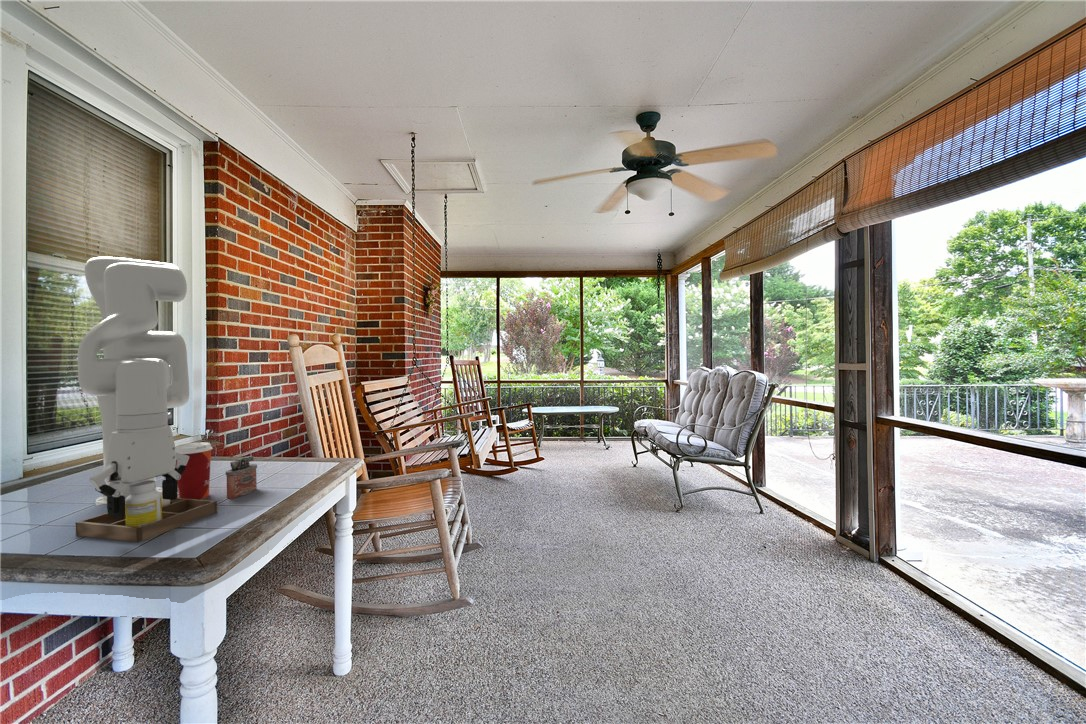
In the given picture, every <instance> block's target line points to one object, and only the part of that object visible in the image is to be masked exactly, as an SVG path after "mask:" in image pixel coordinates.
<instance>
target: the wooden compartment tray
mask: <svg viewBox="0 0 1086 724" xmlns="http://www.w3.org/2000/svg"><path fill="white" fill-rule="evenodd" d="M170 501H171V502H170V504H169V505H166V506H163V507H162V520H159V521H157V522H154V523H151V524H148V525H145V526H143V527H130V526H126V520H125V516H123V517H111V516H109V513H108V512H105V513H101V514H98V515H95V516H92V517H89V518H86V519H83V520H82V519H81V520H78V521H75V536H79V537H80V536H81V537H87V538H97V539H104V540H105V539H106V540H107V539H108V540H116V541H125V542H133V543H141V542H143V541H144V542H145V541H146V540H149V539H151V538H155V537H158V536H159V535H162V534H164V533H167V532H170V531H172V530H175V529H177V528H179V527H183V526H185V525H188V524H190V523H193V522H196V521H198V520H200V519H201V520H202V519H203V518H207V517H208V516H210V515H211V516H212V515H214V514H216V513H218V505H217V504H218V503H217V502H218V501H217V500H210V499H209V500H207V499H200V500H198V499H186V498H179V497H178V498H177V499H176V500H170Z"/></svg>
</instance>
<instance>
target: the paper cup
mask: <svg viewBox="0 0 1086 724" xmlns="http://www.w3.org/2000/svg"><path fill="white" fill-rule="evenodd" d="M213 449H214V448H213V447H212V445H211V443H210V442H205V441H204V442H202V441H201V442H190V443H183V444H179V445H177V446H176V445H175V451H176V452H177V453H180V454H184V455H187V456H189V460H188V462H187V465H186V469H185V470H184V471H183V473H182V474H181V478H180V479H179V480H178V493H177V494H178V498H186V499H198V500H204V499H205V498H206V499H207V498H208V497H209V496H210V479H211V462H212V461H211V457H212V450H213ZM177 462H178V461H177V460H176V465H177Z"/></svg>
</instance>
